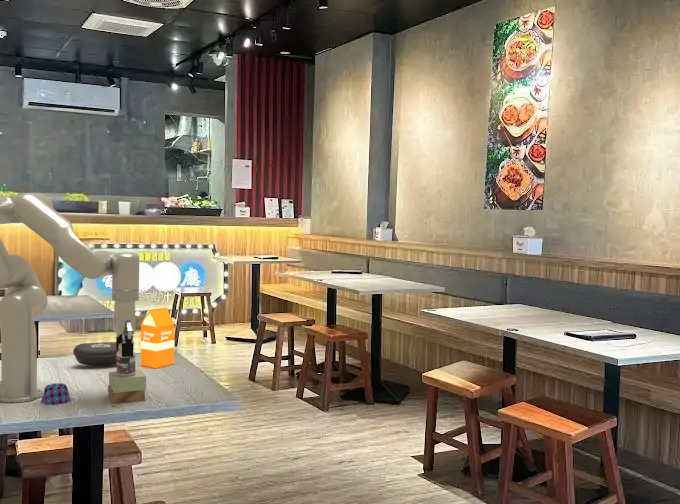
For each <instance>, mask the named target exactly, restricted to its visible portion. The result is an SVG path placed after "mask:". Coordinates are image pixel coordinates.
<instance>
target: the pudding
mask: <svg viewBox="0 0 680 504" xmlns="http://www.w3.org/2000/svg"><path fill="white" fill-rule="evenodd" d="M71 398H74V399H76V401H74V402H73V403H76V402H78V400H79V398H78V397H77V396H74V395H71V394H70V393H69V389H68V386H67V384H66V383H60V382H58V383H54V382H53V383H51V384H50V383H49V384H48V385H46V386H45V387H44V390H43V395H42V396H41V397H40V398H38V399H35V400H33V404H34V405H36V404H37V402H39V401H41V402H40V404H43V403H44V404H43V405H46V406H45V407H47V406H52V405H53V406H52V408H55V407H57V408H58V406H59V405H62V407H64V406H65V404H67V403H69V402H71ZM36 401H37V402H36ZM35 403H36V404H35ZM69 405H70V403H69V404H67V406H69ZM36 406H39V407H40V405H38V404H37V405H36ZM45 407H44V408H45Z"/></svg>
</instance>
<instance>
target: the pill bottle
mask: <svg viewBox="0 0 680 504" xmlns="http://www.w3.org/2000/svg"><path fill="white" fill-rule="evenodd" d="M116 359H117V364H116V371H117V374H118V375H120V376H130V375H133V374H134V373H135V370H136V351H135V350H133V356H132V357H122V343H120V344H119V351H118V352H117V354H116Z"/></svg>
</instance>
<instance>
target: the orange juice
mask: <svg viewBox="0 0 680 504" xmlns="http://www.w3.org/2000/svg"><path fill="white" fill-rule="evenodd" d="M140 327H141V328H140V337H141V339H140V365H141V366H144V367H150V368H155V369H158V368H161V367H165V366H170V365H174V364H175V322H174V320H173V318H172V316H171V314H170V311H169V309H168V307H161V308H155V309H148V311H147V313H146V315H145V317H144V318H143V320H142V322H141V324H140Z"/></svg>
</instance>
